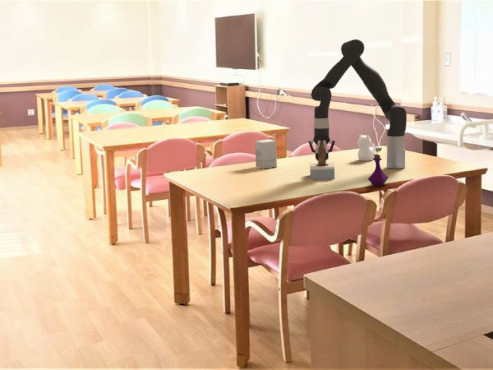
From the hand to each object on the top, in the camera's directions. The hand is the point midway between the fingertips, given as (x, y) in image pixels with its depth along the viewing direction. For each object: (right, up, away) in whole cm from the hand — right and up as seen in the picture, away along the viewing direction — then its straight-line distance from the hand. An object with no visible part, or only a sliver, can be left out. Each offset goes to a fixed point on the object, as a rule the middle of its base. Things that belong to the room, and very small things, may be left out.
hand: (321, 160), depth 365 cm
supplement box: (-27, -3, +33) cm, 43 cm away
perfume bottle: (+25, -13, -22) cm, 35 cm away
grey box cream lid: (0, -8, +2) cm, 9 cm away
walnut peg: (0, -6, +1) cm, 6 cm away
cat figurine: (+31, +1, +45) cm, 54 cm away
